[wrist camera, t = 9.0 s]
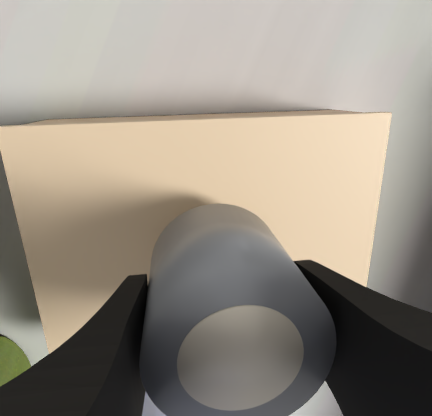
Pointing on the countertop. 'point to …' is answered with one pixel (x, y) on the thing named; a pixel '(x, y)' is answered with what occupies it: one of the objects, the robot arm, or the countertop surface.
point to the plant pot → (11, 360)
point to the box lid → (185, 195)
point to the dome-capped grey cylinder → (230, 320)
